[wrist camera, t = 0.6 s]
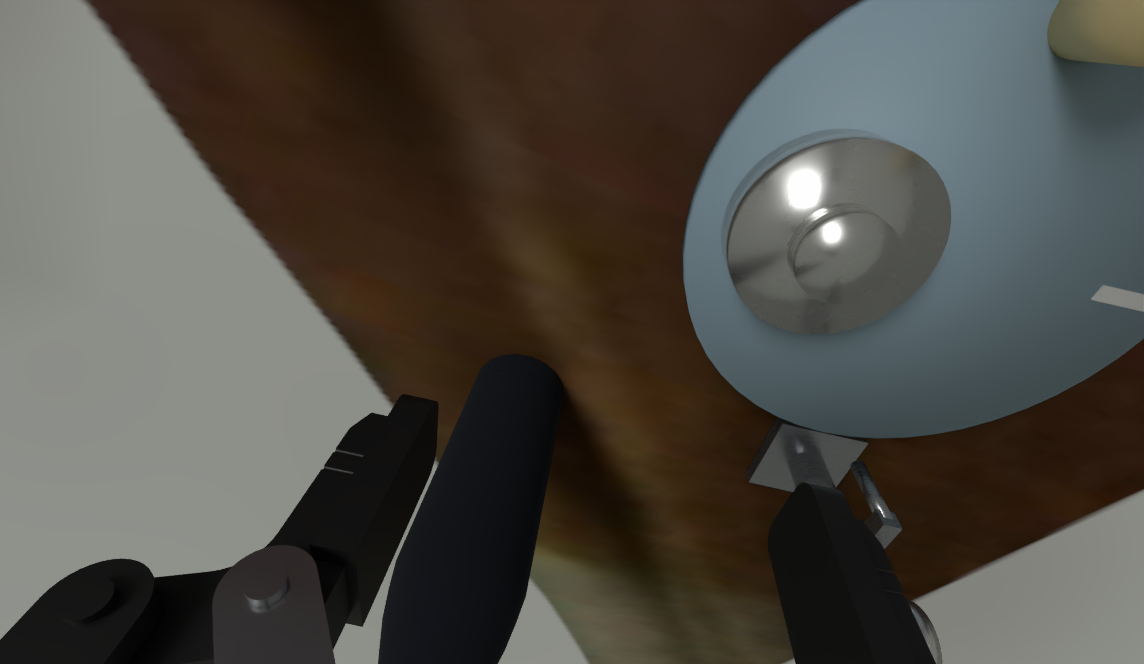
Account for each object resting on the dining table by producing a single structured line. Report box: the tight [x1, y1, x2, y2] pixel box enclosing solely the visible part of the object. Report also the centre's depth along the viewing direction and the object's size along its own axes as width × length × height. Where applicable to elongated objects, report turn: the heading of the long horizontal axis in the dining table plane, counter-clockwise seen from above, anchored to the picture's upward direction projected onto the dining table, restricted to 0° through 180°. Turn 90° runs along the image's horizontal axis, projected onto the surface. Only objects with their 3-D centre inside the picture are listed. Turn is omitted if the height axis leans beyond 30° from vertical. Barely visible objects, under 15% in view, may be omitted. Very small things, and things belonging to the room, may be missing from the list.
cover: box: [721, 128, 951, 334], centre depth 22 cm, size 9×9×4 cm
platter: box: [682, 0, 1144, 438], centre depth 23 cm, size 24×24×6 cm
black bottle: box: [378, 354, 564, 664], centre depth 23 cm, size 6×6×30 cm
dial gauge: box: [746, 417, 942, 664], centre depth 29 cm, size 8×6×15 cm
